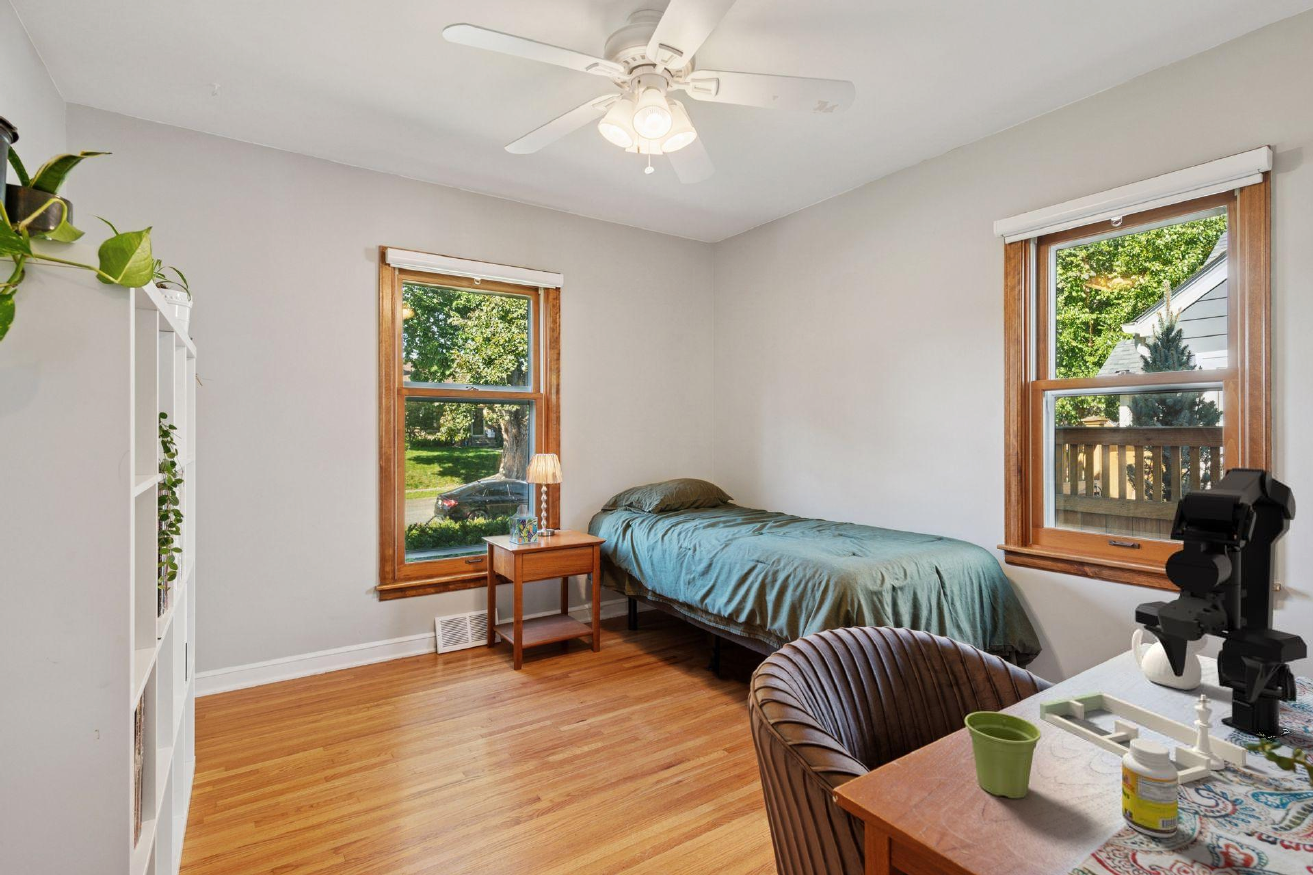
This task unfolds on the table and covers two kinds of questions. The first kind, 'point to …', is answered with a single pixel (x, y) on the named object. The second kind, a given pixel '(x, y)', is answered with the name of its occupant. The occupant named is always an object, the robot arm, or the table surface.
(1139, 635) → the cat figurine
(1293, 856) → the table surface
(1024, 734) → the plant pot
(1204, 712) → the chess piece
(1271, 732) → the robot arm
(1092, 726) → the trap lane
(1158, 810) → the supplement bottle
